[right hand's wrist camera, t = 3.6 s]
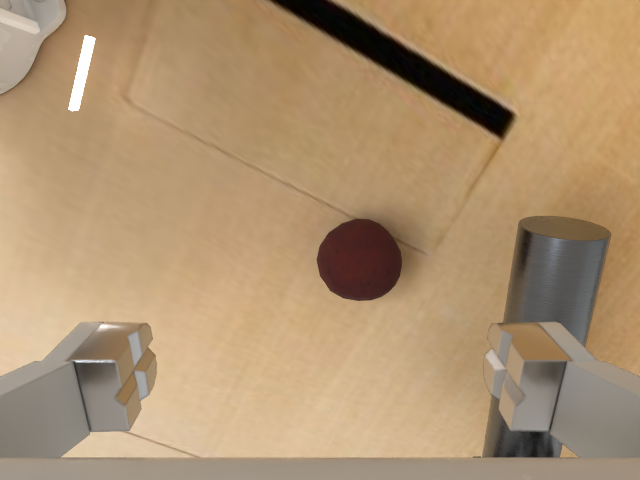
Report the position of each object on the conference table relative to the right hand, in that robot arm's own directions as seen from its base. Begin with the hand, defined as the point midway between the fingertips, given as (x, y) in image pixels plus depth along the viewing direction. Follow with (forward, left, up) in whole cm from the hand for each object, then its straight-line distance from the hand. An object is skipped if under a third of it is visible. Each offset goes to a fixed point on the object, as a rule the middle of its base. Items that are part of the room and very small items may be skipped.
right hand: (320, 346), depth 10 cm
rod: (+18, +18, -25) cm, 36 cm away
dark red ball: (+9, +4, -31) cm, 33 cm away
